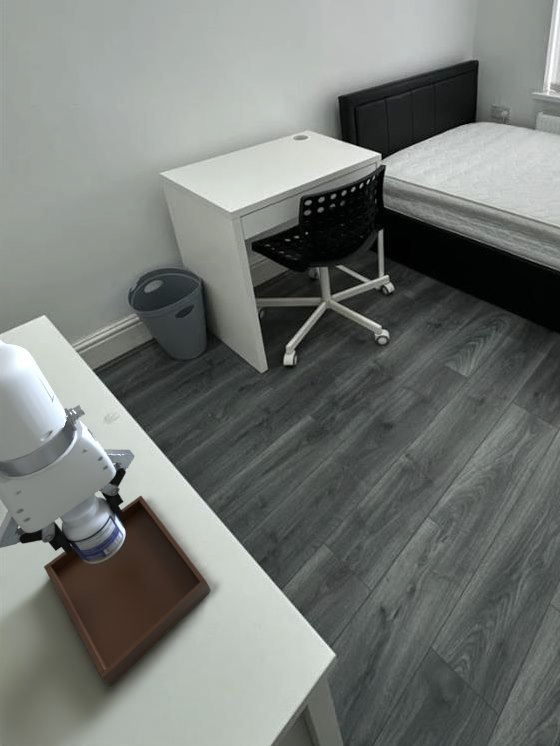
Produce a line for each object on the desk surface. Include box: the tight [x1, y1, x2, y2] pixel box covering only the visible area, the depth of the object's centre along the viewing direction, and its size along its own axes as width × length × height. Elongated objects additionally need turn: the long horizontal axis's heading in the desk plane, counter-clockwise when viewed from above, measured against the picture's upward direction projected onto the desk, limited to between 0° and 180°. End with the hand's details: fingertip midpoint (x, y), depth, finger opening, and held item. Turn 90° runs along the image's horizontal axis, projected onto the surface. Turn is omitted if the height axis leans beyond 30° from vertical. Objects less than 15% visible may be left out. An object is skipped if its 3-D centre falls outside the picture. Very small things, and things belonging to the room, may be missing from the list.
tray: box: [43, 495, 212, 687], centre depth 66 cm, size 19×13×3 cm
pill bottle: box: [59, 493, 125, 564], centre depth 63 cm, size 5×5×10 cm
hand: (91, 525), depth 63 cm, fingers closed on pill bottle, 5 cm apart
